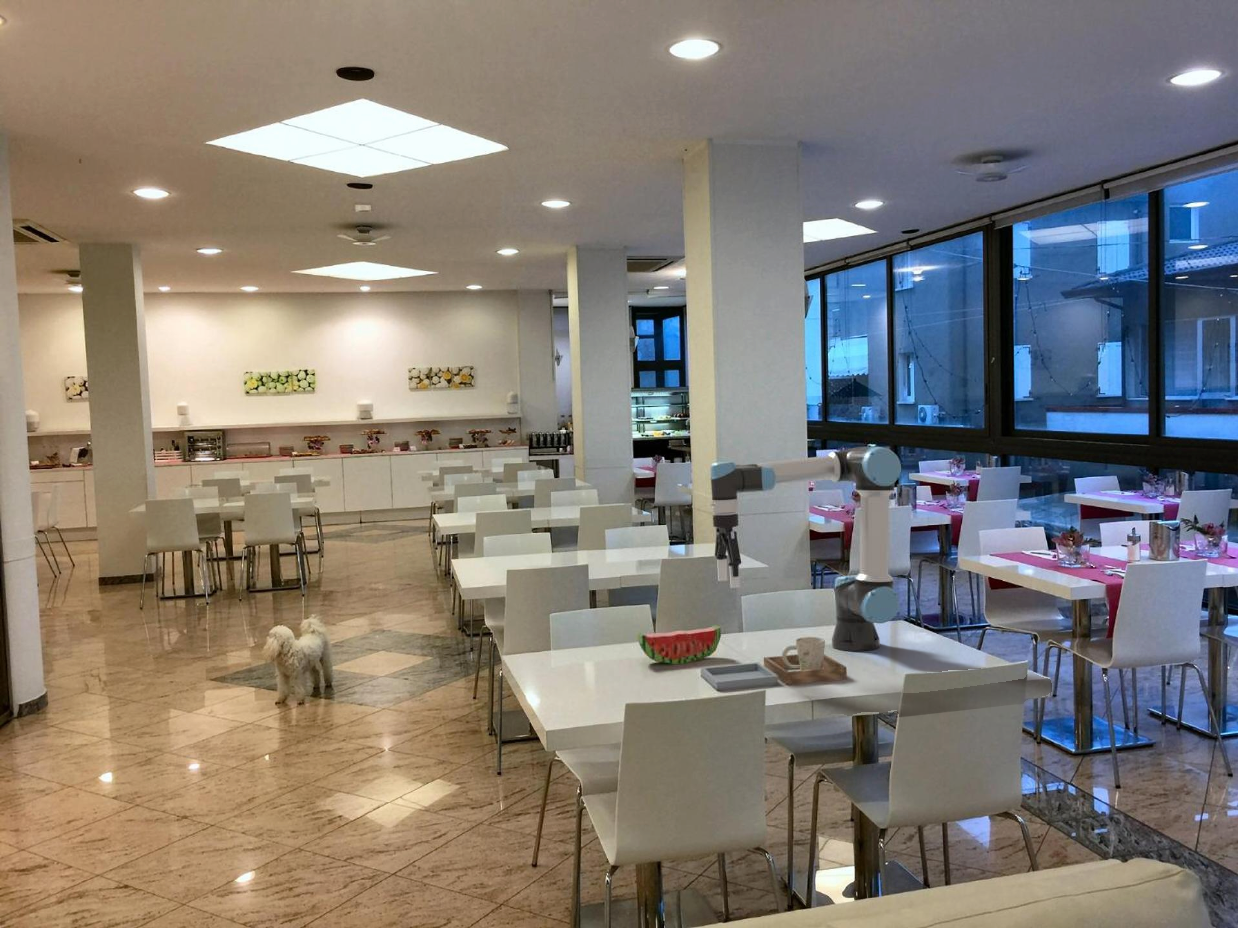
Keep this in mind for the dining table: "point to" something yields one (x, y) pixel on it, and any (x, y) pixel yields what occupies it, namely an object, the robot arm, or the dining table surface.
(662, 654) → the fruit slice
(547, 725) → the dining table surface
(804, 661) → the mug
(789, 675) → the corral
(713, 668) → the tray
